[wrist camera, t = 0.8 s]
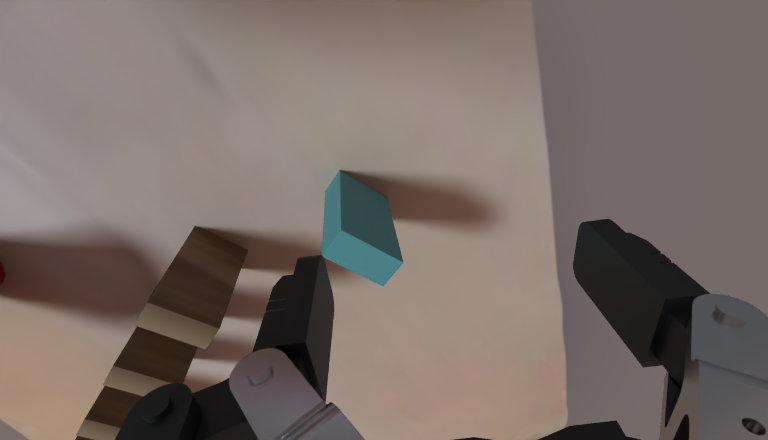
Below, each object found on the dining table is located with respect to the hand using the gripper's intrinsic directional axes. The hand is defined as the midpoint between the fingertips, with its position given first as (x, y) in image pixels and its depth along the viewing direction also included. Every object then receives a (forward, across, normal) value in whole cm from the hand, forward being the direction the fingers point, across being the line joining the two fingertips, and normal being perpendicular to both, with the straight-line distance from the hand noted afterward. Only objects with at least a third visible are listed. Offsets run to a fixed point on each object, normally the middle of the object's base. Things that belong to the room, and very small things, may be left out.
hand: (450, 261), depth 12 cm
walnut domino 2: (+20, +18, +11) cm, 29 cm away
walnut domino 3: (+20, +23, +16) cm, 34 cm away
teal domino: (+21, +4, +7) cm, 23 cm away
